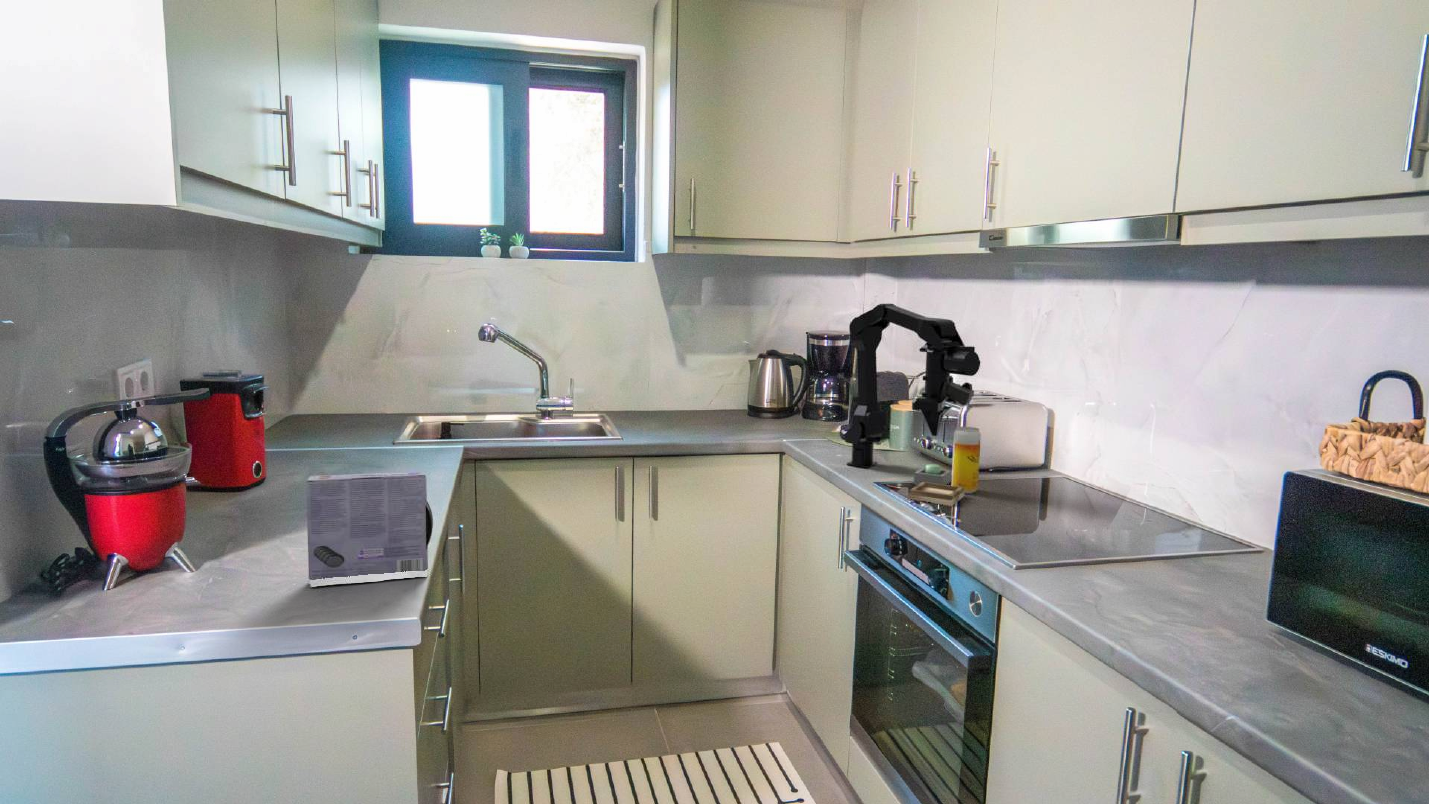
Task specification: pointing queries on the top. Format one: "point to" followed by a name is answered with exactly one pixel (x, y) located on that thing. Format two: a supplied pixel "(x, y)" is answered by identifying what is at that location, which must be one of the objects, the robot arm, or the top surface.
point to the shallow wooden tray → (936, 493)
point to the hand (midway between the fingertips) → (934, 435)
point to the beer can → (966, 458)
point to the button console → (932, 477)
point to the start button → (933, 469)
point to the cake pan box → (367, 524)
